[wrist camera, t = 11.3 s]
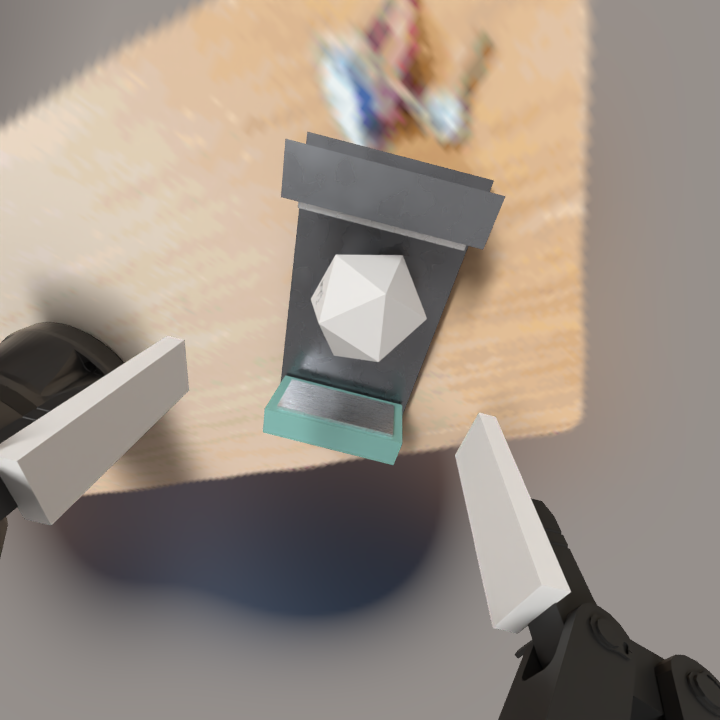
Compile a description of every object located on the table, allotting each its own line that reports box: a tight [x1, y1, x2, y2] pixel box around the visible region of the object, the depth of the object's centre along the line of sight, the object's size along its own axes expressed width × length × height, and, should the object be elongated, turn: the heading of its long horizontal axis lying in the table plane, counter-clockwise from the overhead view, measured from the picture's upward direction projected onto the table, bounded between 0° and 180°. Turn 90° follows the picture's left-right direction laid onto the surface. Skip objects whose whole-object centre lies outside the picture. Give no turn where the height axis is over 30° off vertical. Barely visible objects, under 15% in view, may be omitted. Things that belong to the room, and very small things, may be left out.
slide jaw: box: [263, 375, 402, 465], centre depth 31 cm, size 13×3×6 cm, turn 78°
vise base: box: [281, 132, 505, 415], centre depth 27 cm, size 14×26×8 cm, turn 168°
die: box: [311, 255, 427, 362], centre depth 24 cm, size 8×9×10 cm
